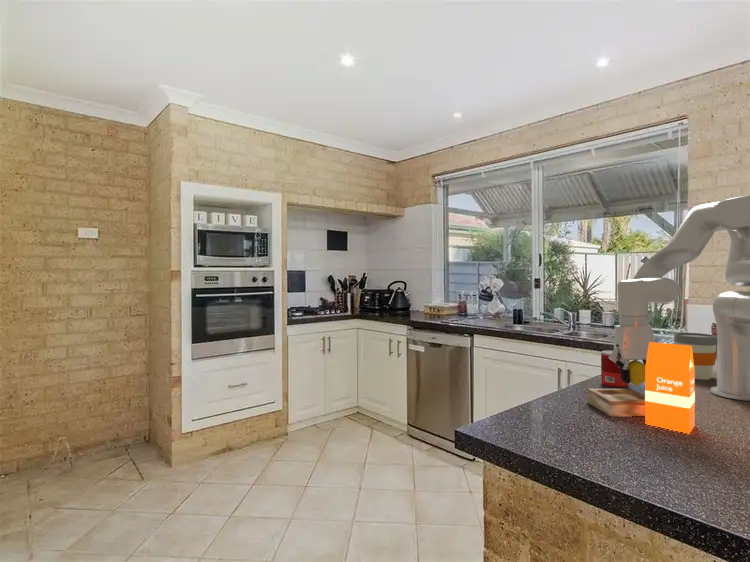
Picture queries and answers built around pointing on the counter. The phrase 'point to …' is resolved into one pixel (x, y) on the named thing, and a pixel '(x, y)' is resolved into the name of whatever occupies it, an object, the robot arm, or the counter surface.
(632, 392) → the square wooden box
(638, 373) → the lemon
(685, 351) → the orange juice
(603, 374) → the canned food
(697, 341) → the reusable coffee cup
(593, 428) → the counter surface
